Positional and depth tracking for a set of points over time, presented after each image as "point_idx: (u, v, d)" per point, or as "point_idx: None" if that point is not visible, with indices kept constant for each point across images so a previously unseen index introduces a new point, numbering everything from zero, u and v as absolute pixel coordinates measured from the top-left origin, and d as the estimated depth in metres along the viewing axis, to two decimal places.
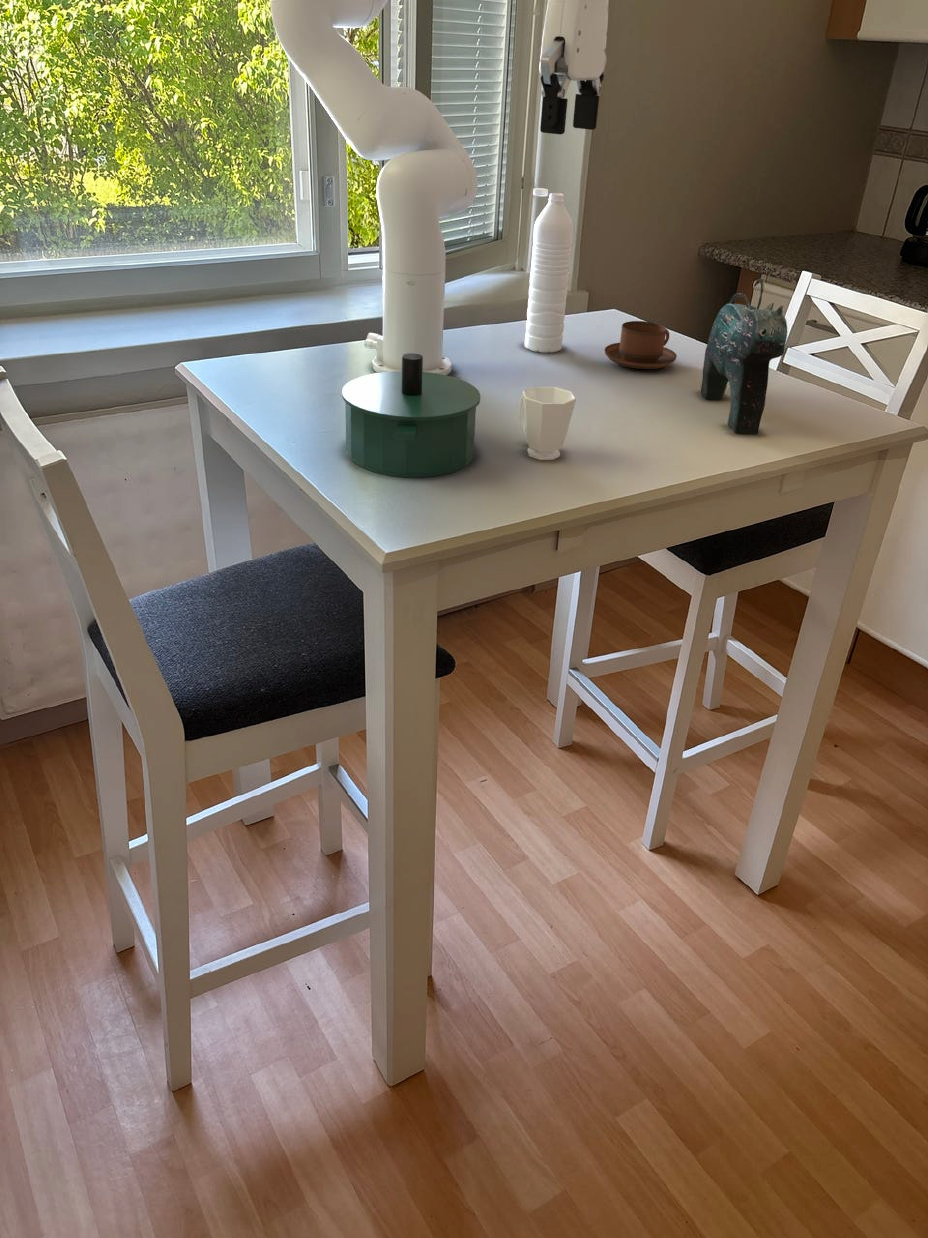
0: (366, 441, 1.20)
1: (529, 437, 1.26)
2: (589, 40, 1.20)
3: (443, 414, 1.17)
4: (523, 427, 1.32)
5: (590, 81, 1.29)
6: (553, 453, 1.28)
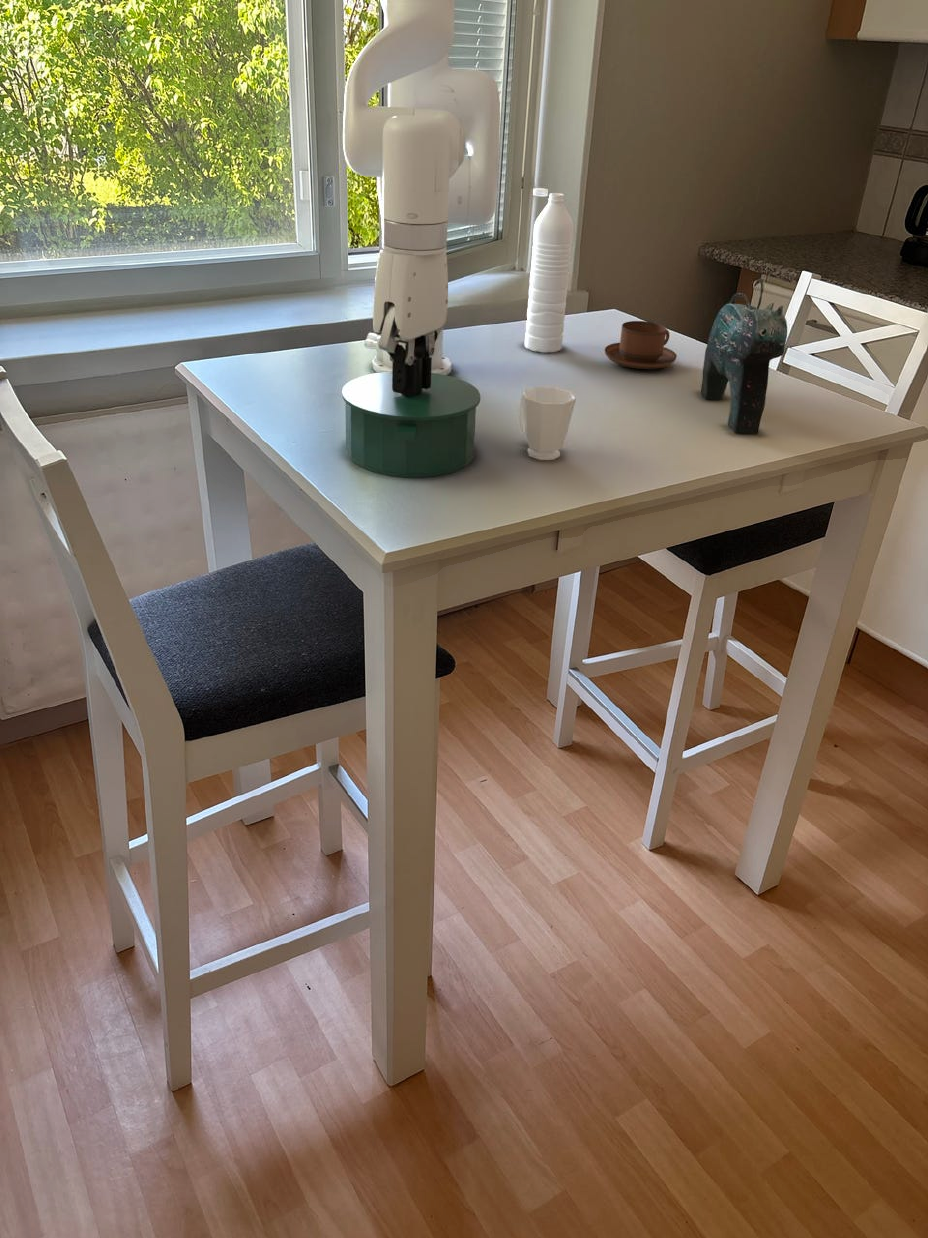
0: (366, 441, 1.20)
1: (529, 437, 1.26)
2: (423, 302, 1.15)
3: (443, 414, 1.17)
4: (523, 427, 1.32)
5: (422, 341, 1.22)
6: (553, 453, 1.28)
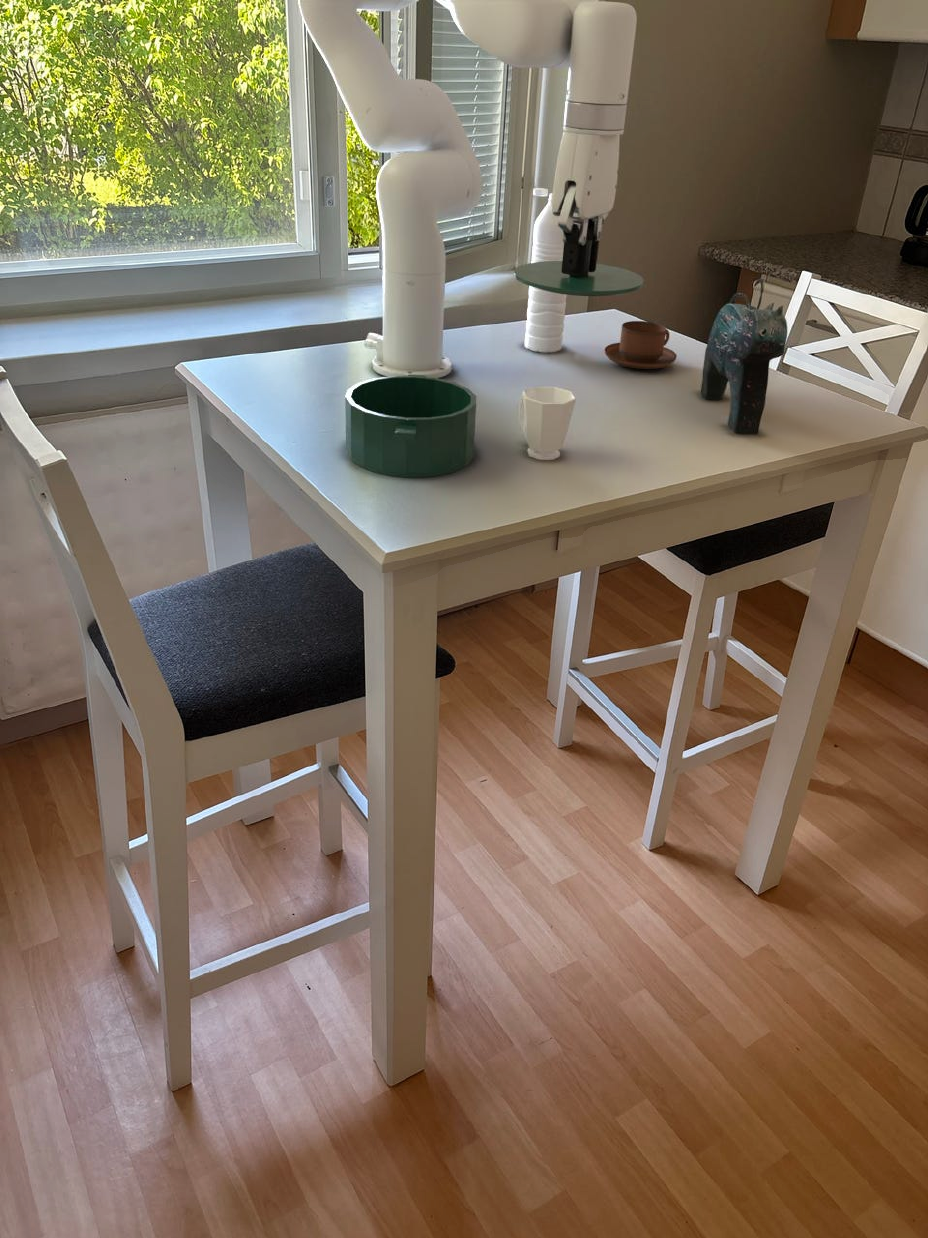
0: (366, 441, 1.20)
1: (529, 437, 1.26)
2: (600, 182, 1.23)
3: (616, 289, 1.25)
4: (523, 427, 1.32)
5: (590, 226, 1.30)
6: (553, 453, 1.28)
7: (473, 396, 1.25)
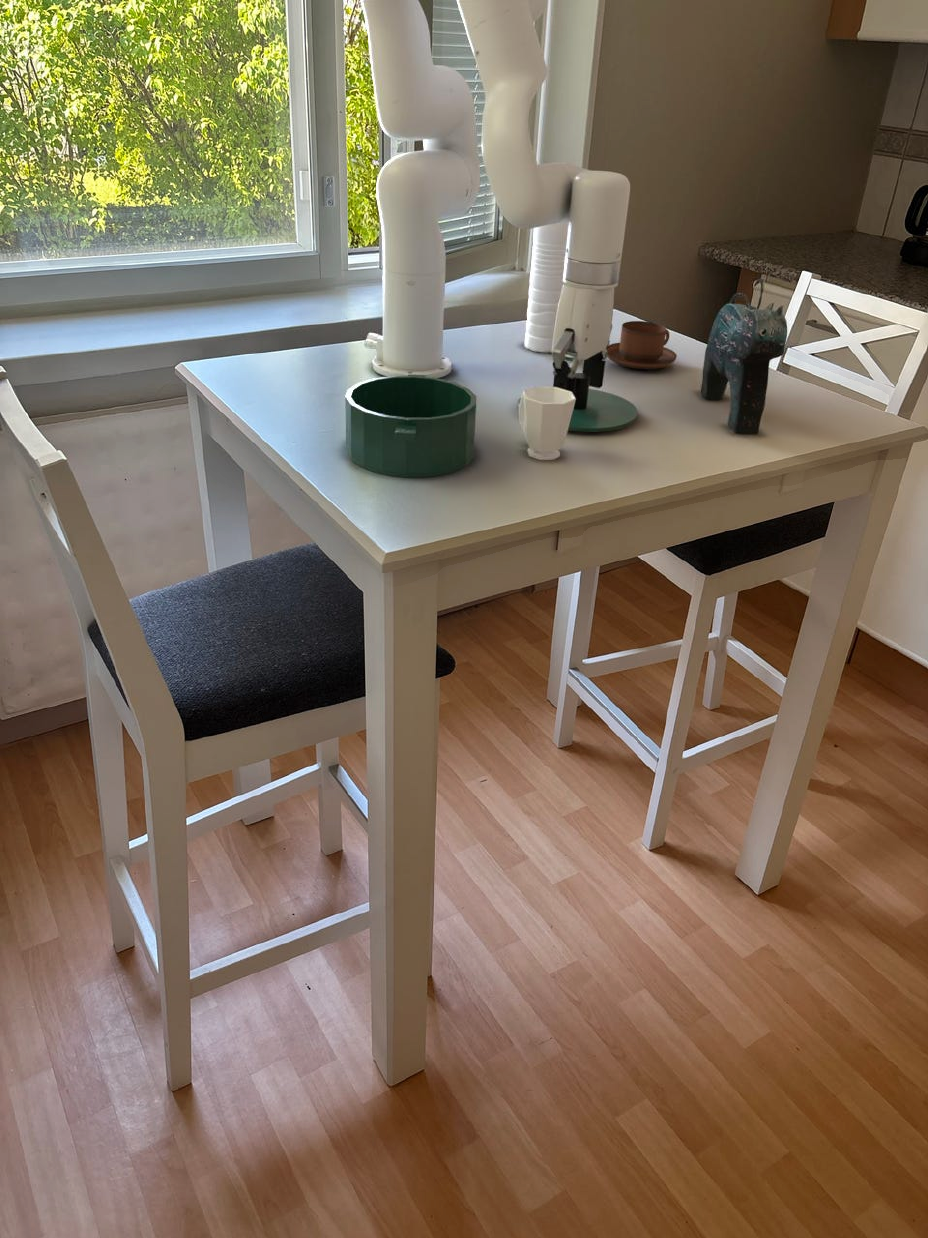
0: (366, 441, 1.20)
1: (529, 437, 1.26)
2: (596, 328, 1.34)
3: (612, 426, 1.36)
4: (523, 427, 1.32)
5: None
6: (553, 453, 1.28)
7: (473, 396, 1.25)
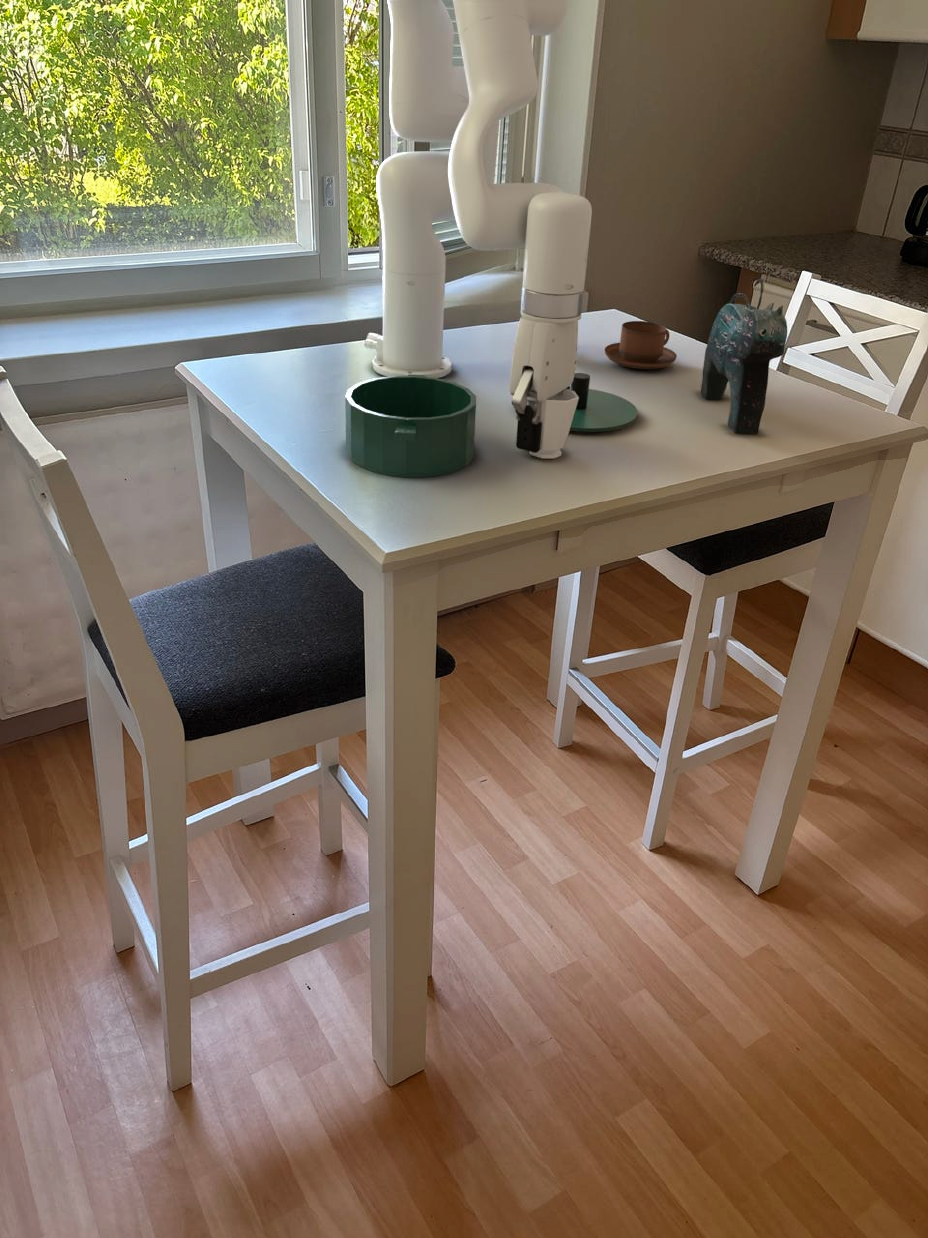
0: (366, 441, 1.20)
1: None
2: (558, 365, 1.21)
3: (612, 426, 1.36)
4: None
5: None
6: (554, 452, 1.29)
7: (473, 396, 1.25)
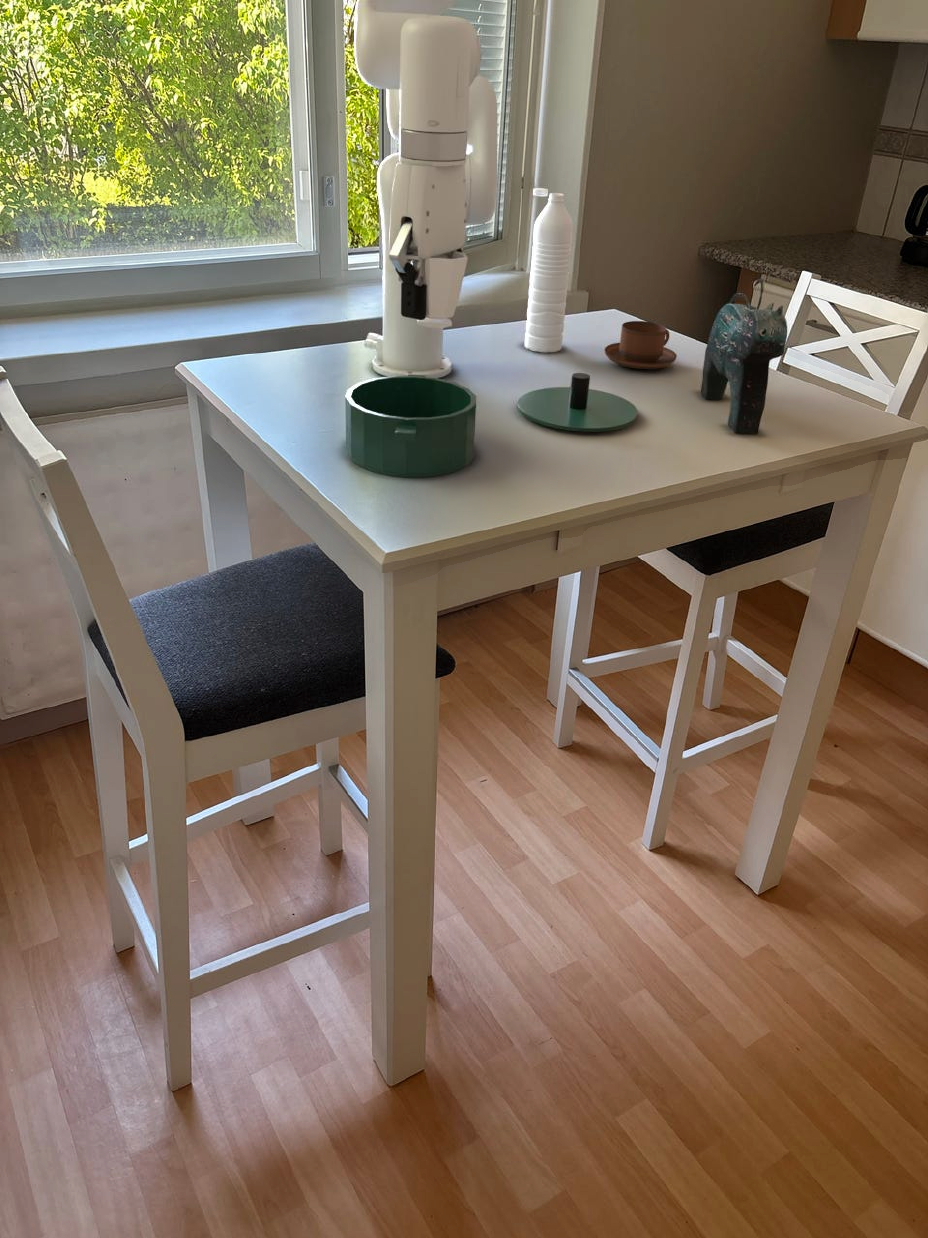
0: (366, 441, 1.20)
1: None
2: (441, 218, 1.10)
3: (612, 426, 1.36)
4: None
5: None
6: (445, 322, 1.18)
7: (473, 396, 1.25)
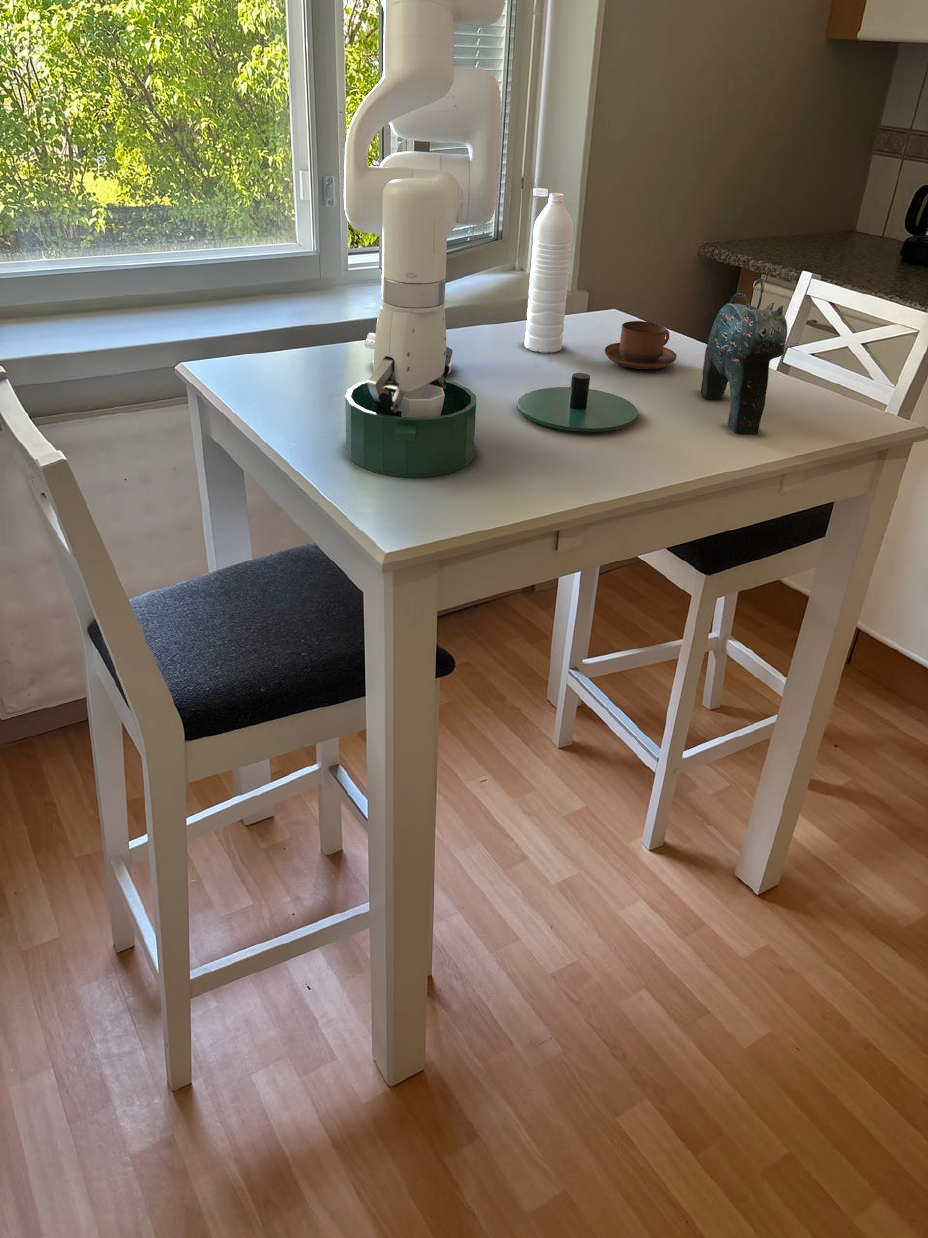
0: (366, 441, 1.20)
1: None
2: (421, 356, 1.18)
3: (612, 426, 1.36)
4: None
5: None
6: None
7: (473, 396, 1.25)
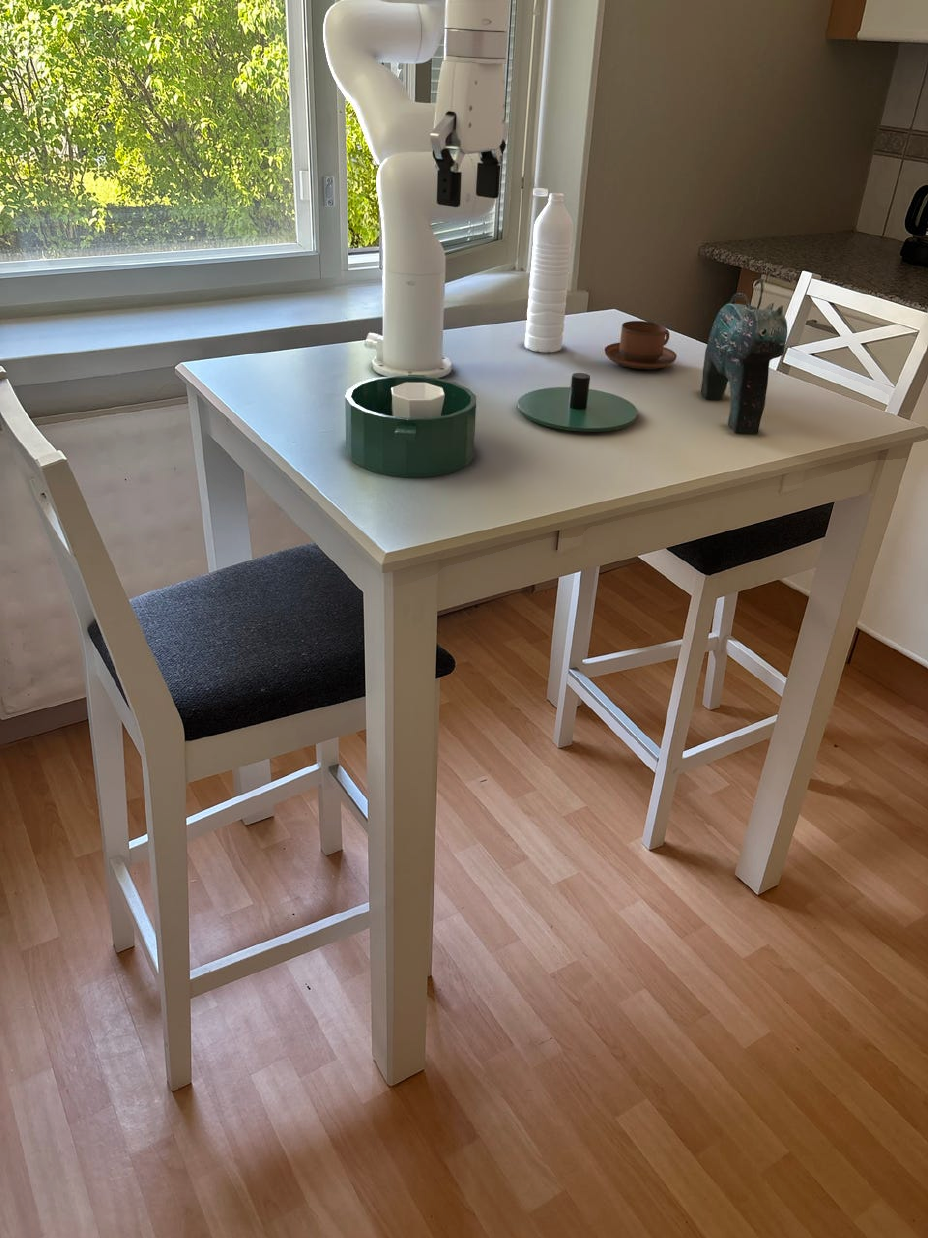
0: (366, 441, 1.20)
1: None
2: (482, 114, 1.19)
3: (612, 426, 1.36)
4: None
5: (491, 150, 1.28)
6: None
7: (473, 396, 1.25)
